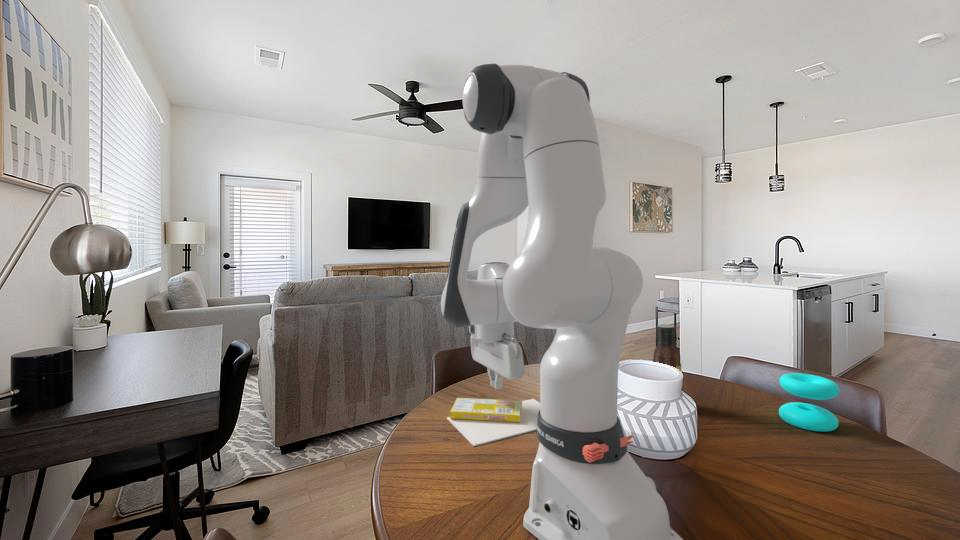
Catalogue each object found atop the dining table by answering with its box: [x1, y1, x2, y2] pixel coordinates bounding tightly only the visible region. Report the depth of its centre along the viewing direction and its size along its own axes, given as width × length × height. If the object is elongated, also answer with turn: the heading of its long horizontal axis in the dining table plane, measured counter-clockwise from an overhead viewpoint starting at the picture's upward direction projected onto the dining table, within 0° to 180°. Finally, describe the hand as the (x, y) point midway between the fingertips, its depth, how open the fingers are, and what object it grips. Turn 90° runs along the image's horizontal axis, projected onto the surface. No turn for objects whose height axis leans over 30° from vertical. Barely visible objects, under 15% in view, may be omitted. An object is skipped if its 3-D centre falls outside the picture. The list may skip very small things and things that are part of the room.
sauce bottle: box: [652, 323, 682, 372], centre depth 96 cm, size 7×6×20 cm
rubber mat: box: [446, 398, 540, 447], centre depth 89 cm, size 14×24×1 cm, turn 116°
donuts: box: [778, 372, 840, 433], centre depth 85 cm, size 10×10×10 cm
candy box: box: [449, 397, 523, 422], centre depth 92 cm, size 16×2×8 cm
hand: (496, 387), depth 93 cm, fingers closed
